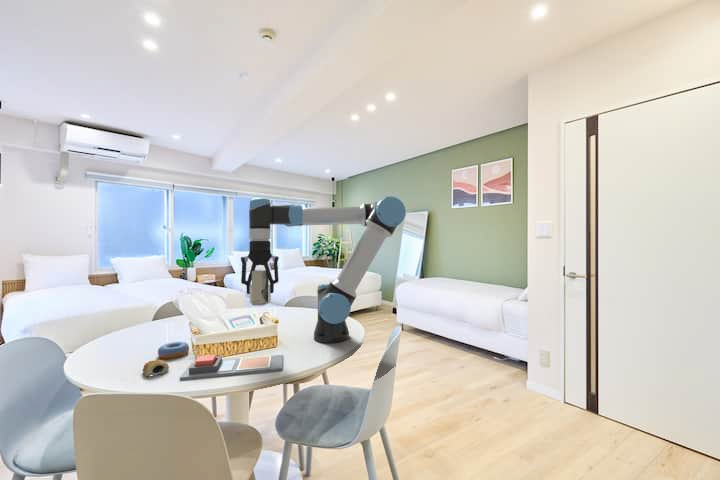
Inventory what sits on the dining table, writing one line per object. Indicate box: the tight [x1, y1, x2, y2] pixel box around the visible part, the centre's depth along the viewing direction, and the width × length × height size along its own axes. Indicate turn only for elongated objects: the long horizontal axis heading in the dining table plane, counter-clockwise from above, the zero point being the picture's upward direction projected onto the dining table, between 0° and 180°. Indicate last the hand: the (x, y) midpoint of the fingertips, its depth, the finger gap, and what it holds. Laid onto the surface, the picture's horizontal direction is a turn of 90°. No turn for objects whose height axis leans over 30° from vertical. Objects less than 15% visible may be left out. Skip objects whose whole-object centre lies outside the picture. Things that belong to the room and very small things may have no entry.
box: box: [251, 269, 270, 307], centre depth 118 cm, size 5×4×13 cm
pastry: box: [142, 359, 170, 377], centre depth 102 cm, size 9×7×4 cm
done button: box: [195, 354, 217, 366], centre depth 102 cm, size 5×5×2 cm
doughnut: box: [157, 341, 190, 360], centre depth 116 cm, size 10×10×5 cm
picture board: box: [179, 354, 284, 381], centre depth 104 cm, size 30×12×3 cm, turn 103°
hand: (260, 302), depth 118 cm, fingers closed on box, 6 cm apart
